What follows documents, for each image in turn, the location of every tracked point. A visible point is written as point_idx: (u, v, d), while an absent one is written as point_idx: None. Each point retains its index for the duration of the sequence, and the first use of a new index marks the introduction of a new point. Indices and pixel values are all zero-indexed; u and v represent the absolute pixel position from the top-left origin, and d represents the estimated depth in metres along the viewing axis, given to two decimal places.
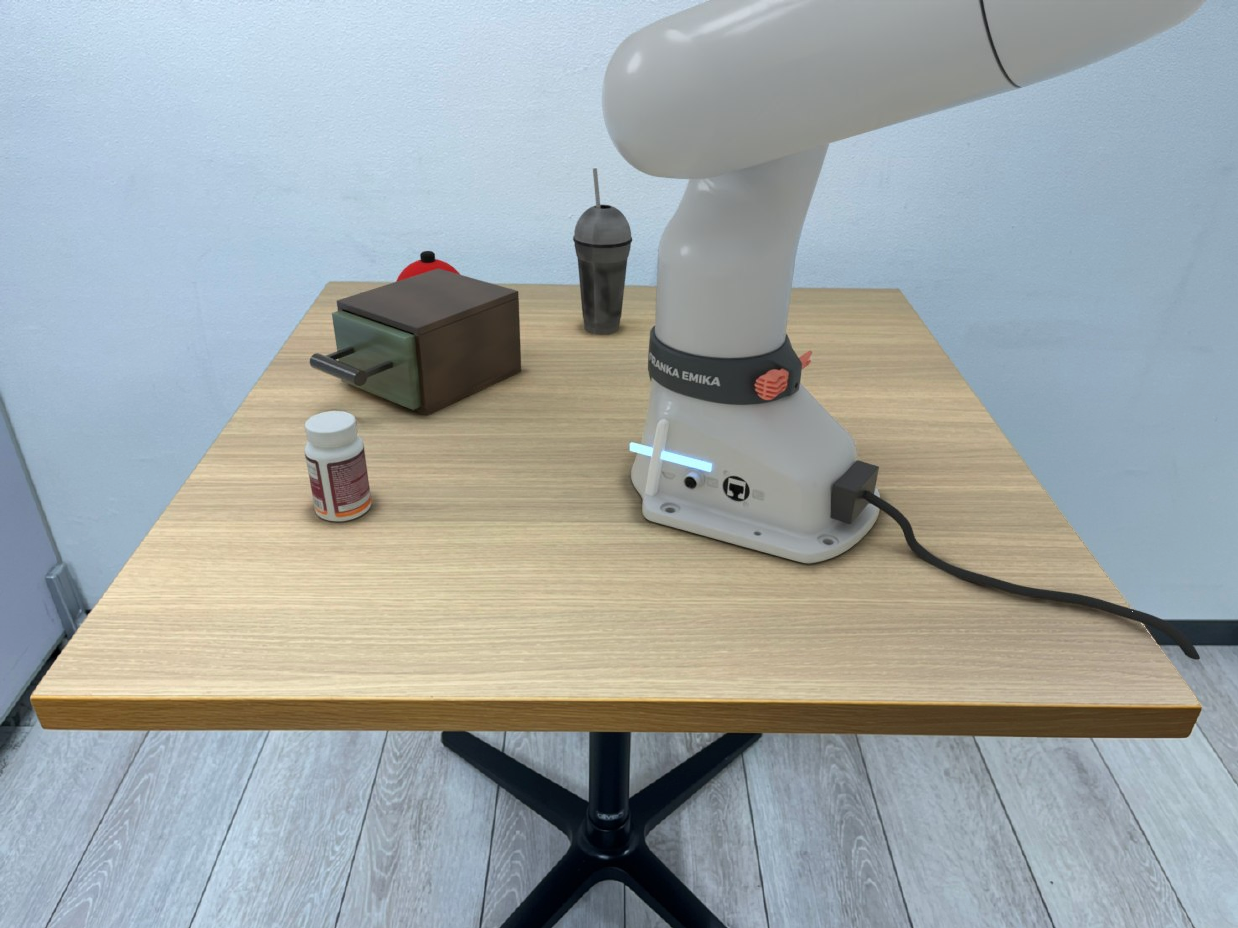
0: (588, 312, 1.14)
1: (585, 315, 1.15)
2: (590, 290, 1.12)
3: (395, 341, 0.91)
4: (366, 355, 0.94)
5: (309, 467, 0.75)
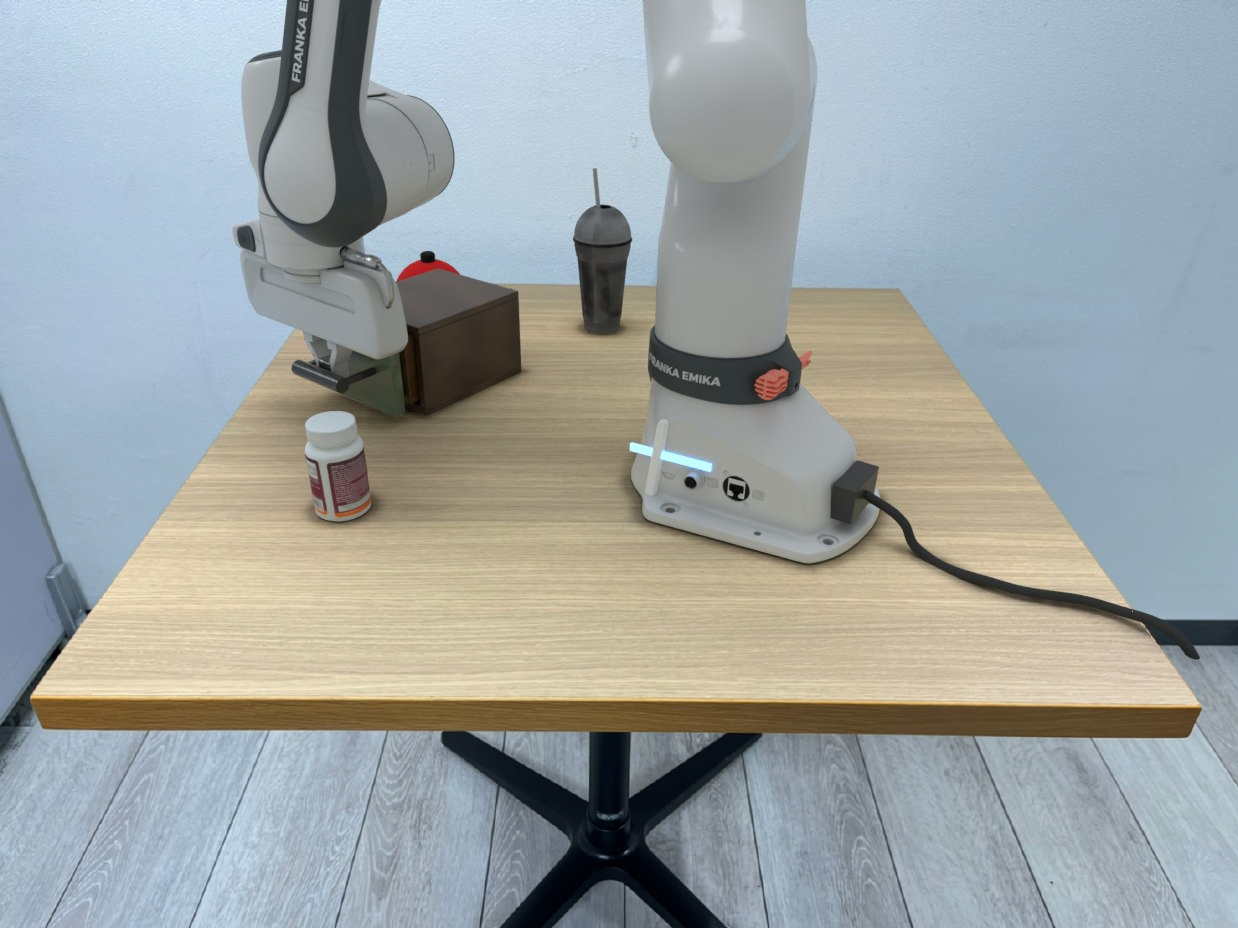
0: (588, 312, 1.14)
1: (585, 315, 1.15)
2: (590, 290, 1.12)
3: None
4: (349, 361, 0.93)
5: (309, 467, 0.75)
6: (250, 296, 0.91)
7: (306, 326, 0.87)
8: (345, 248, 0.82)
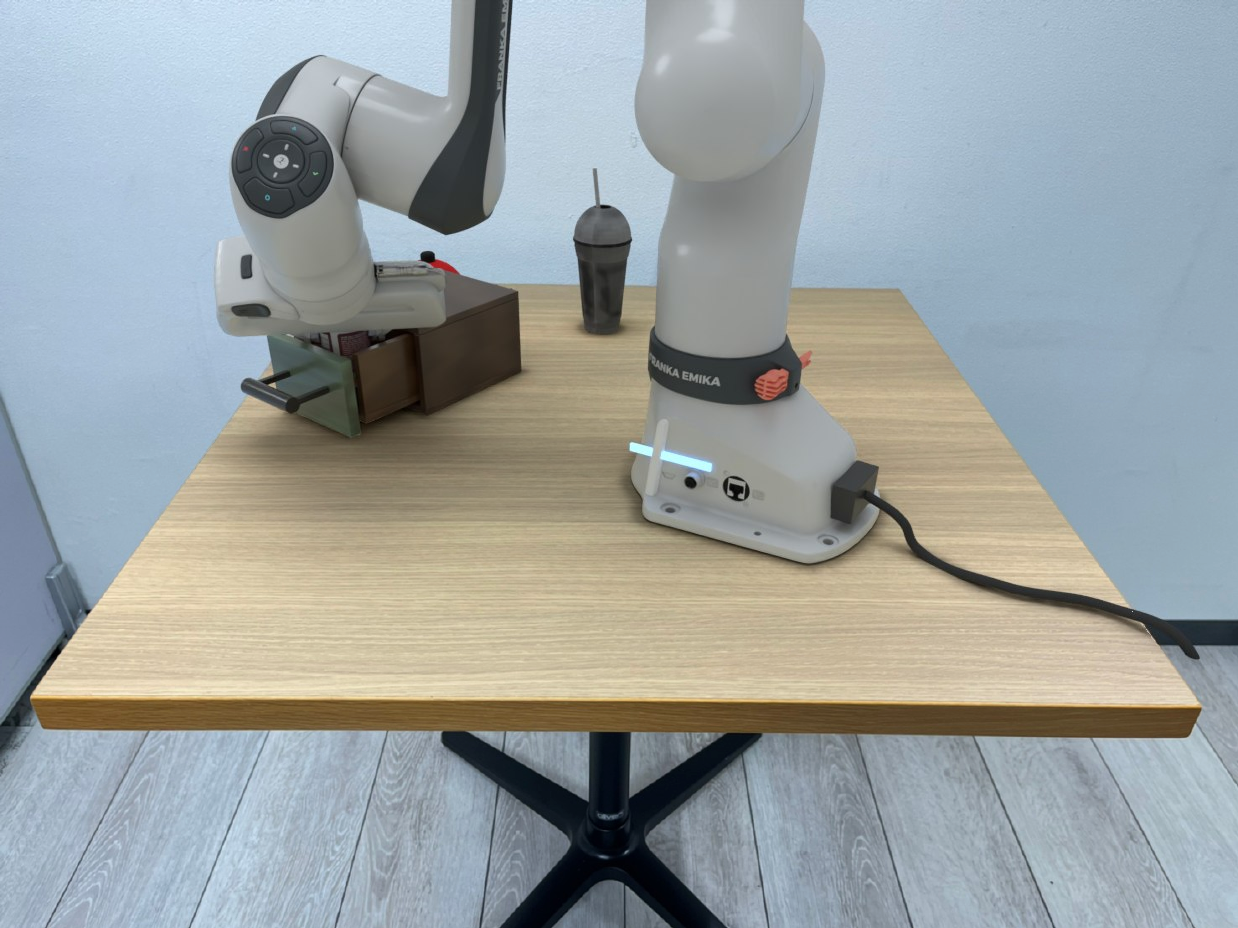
0: (588, 312, 1.14)
1: (585, 315, 1.15)
2: (590, 290, 1.12)
3: (330, 365, 0.85)
4: (302, 379, 0.89)
5: (322, 339, 0.89)
6: (231, 332, 0.83)
7: (330, 330, 0.85)
8: (377, 269, 0.79)
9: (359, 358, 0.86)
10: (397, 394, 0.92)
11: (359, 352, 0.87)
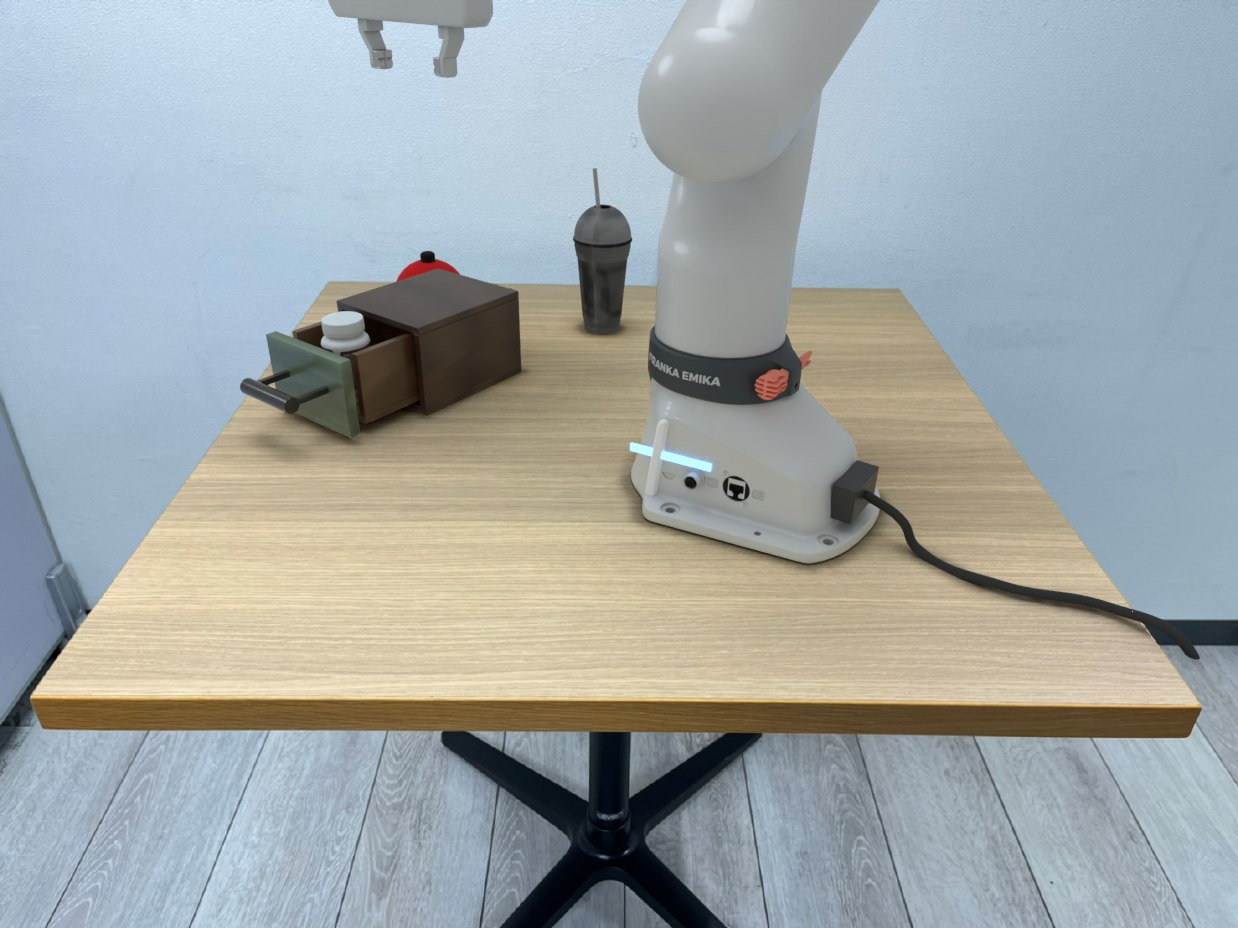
0: (588, 312, 1.14)
1: (585, 315, 1.15)
2: (590, 290, 1.12)
3: (330, 365, 0.85)
4: (301, 379, 0.89)
5: None
6: None
7: (389, 11, 0.88)
8: None
9: (358, 358, 0.86)
10: (397, 394, 0.92)
11: (358, 352, 0.87)
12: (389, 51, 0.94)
